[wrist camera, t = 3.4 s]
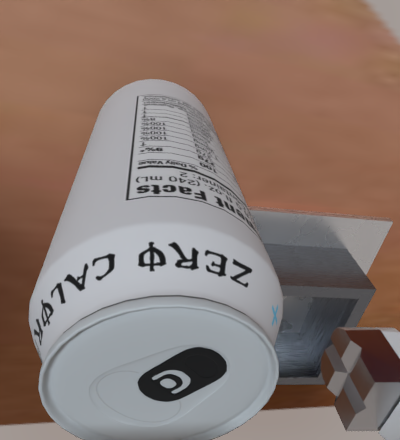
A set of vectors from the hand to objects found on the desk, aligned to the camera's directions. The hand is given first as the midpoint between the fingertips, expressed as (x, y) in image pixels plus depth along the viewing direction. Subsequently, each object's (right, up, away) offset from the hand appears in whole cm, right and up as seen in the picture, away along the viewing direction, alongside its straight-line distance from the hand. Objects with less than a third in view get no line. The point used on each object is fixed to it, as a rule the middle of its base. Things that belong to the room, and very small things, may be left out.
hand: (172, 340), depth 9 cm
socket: (+5, -2, +19) cm, 20 cm away
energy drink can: (-2, +8, +11) cm, 14 cm away
